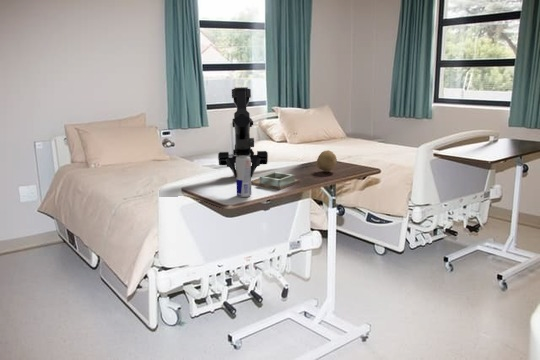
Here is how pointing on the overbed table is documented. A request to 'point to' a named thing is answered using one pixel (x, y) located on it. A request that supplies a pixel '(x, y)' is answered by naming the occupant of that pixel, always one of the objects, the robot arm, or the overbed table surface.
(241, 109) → the robot arm
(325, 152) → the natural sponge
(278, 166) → the overbed table surface
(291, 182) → the socket dock
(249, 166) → the beverage can
